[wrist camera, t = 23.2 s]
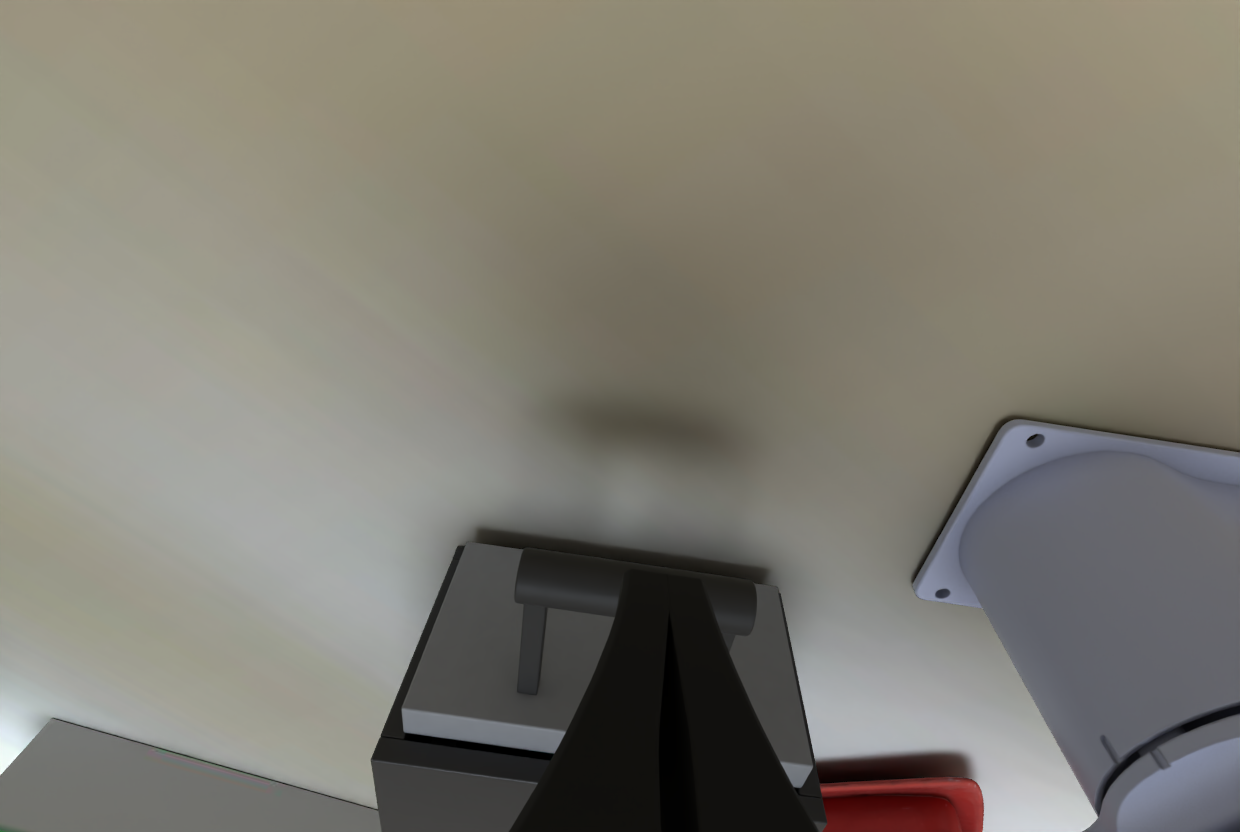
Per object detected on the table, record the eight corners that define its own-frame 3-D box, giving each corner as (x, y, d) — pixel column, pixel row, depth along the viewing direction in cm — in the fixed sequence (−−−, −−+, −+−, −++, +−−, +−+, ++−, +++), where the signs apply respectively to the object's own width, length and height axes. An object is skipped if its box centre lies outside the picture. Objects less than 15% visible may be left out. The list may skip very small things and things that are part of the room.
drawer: (467, 421, 20) (387, 576, 14) (821, 474, 20) (882, 647, 14) (465, 741, 30) (418, 907, 24) (703, 774, 30) (711, 947, 24)
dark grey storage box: (457, 545, 24) (369, 760, 17) (781, 592, 24) (828, 824, 17) (458, 747, 32) (398, 953, 25) (704, 781, 32) (715, 996, 25)
